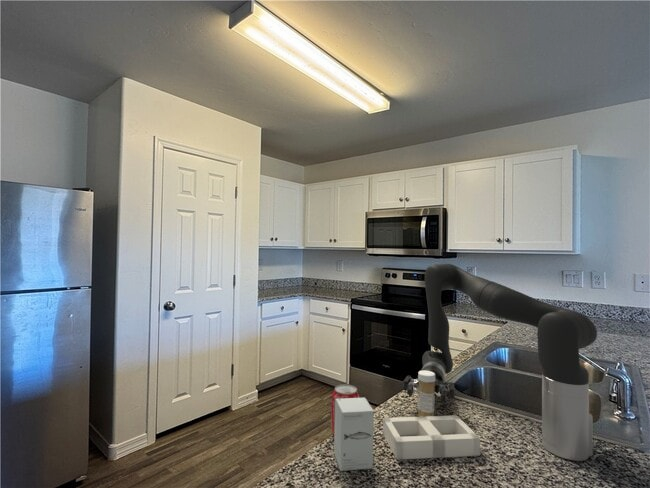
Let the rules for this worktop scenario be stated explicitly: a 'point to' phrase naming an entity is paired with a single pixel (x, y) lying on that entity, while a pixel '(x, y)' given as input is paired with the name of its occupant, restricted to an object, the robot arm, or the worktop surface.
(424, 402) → the sprinkles bottle
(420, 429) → the divided compartment tray
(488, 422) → the worktop surface
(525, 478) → the worktop surface
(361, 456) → the supplement box
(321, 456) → the worktop surface
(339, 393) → the soda can
